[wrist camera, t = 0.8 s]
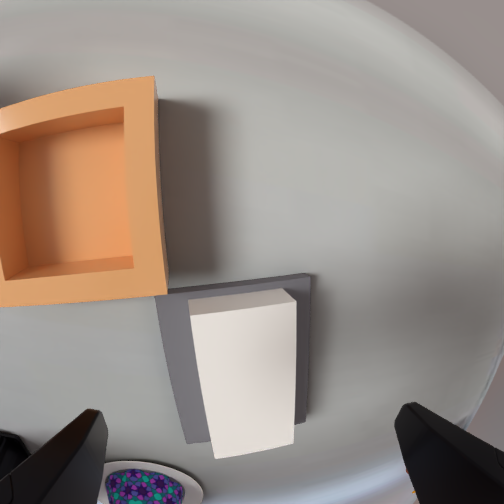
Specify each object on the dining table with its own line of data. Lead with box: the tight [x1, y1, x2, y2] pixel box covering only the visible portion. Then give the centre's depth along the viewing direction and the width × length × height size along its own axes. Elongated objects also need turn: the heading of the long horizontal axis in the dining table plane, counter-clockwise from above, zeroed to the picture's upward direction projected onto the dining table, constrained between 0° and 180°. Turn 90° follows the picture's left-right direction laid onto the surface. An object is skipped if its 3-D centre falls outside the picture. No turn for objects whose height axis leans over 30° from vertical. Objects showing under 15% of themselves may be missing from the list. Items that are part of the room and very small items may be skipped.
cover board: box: [188, 288, 296, 459], centre depth 19 cm, size 12×6×2 cm, turn 3°
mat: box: [155, 273, 311, 444], centre depth 21 cm, size 13×10×1 cm
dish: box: [0, 76, 169, 307], centre depth 14 cm, size 11×11×4 cm
